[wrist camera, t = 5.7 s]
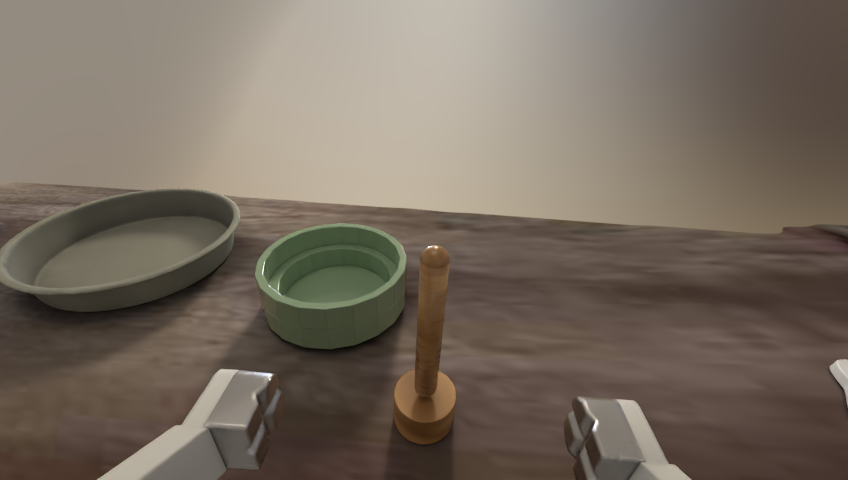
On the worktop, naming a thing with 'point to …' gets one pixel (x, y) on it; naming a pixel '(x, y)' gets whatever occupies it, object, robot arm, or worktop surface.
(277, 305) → the bowl
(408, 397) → the wooden peg stand
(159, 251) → the cake pan
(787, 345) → the worktop surface
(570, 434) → the robot arm
